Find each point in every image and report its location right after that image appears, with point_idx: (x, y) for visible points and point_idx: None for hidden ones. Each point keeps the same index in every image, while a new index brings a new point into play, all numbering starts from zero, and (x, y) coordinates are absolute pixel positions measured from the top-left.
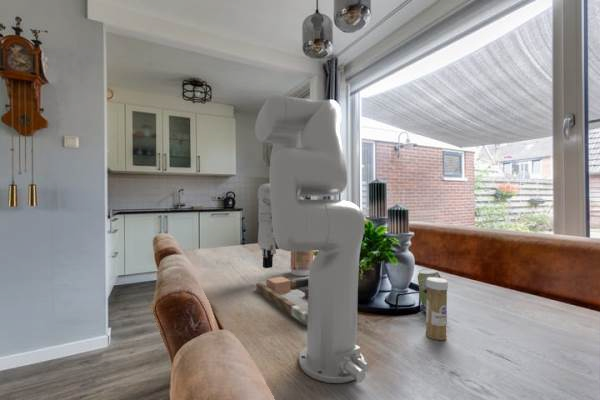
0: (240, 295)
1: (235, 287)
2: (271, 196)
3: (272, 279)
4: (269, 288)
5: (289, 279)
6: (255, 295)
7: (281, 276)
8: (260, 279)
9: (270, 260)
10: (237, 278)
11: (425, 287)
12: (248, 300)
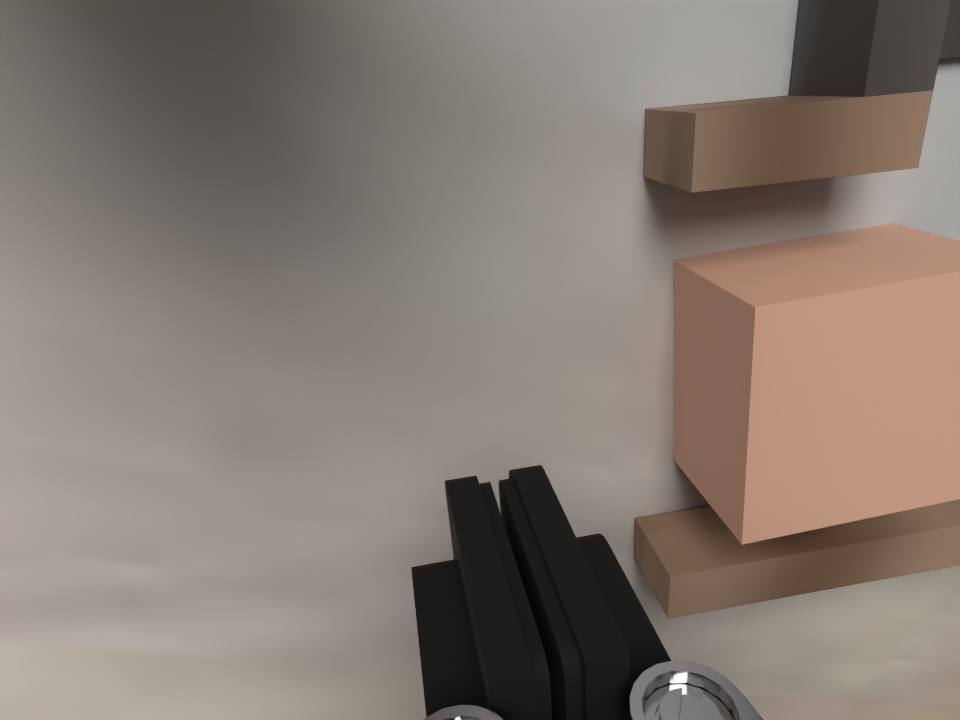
0: None
1: None
2: None
3: (811, 482)
4: (923, 533)
5: (777, 148)
6: None
7: (757, 308)
8: (201, 420)
9: (646, 638)
10: (65, 670)
11: None
12: (832, 648)
